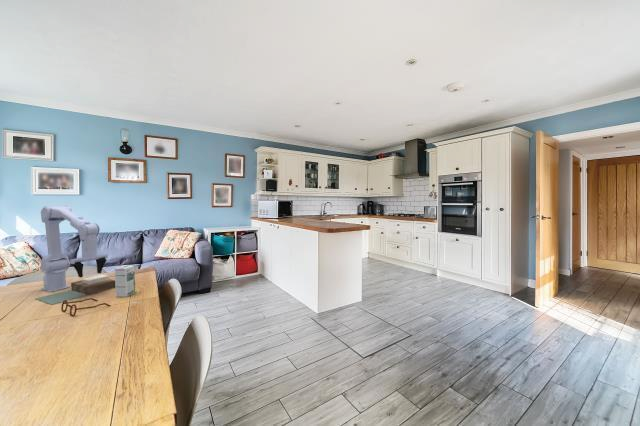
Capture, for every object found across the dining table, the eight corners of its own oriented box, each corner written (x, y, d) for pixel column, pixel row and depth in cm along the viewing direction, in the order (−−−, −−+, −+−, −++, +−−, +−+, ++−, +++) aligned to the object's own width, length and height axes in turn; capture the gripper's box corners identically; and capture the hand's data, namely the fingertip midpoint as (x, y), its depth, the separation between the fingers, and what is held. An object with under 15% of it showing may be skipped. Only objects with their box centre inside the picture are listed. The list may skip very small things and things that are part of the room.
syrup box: (126, 297, 127) (126, 268, 126) (115, 296, 127) (114, 267, 126) (135, 293, 132) (134, 265, 132) (124, 292, 132) (123, 264, 132)
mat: (34, 299, 123) (34, 298, 123) (70, 290, 134) (70, 289, 134) (51, 304, 116) (51, 304, 116) (87, 295, 128) (87, 294, 128)
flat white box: (82, 282, 135) (82, 278, 135) (102, 278, 143) (102, 274, 143) (88, 284, 133) (88, 280, 133) (108, 279, 141) (108, 275, 141)
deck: (71, 290, 135) (71, 282, 135) (98, 283, 146) (98, 276, 146) (88, 295, 129) (88, 287, 128) (115, 287, 140) (115, 280, 139)
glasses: (60, 311, 111) (60, 300, 110) (97, 301, 122) (97, 290, 122) (73, 318, 105) (73, 306, 104) (111, 306, 116) (111, 296, 116)
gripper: (75, 251, 120) (76, 280, 121) (110, 246, 133) (111, 272, 134) (67, 250, 123) (68, 278, 124) (103, 245, 136) (103, 270, 137)
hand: (90, 275), depth 129 cm, fingers open, 7 cm apart
